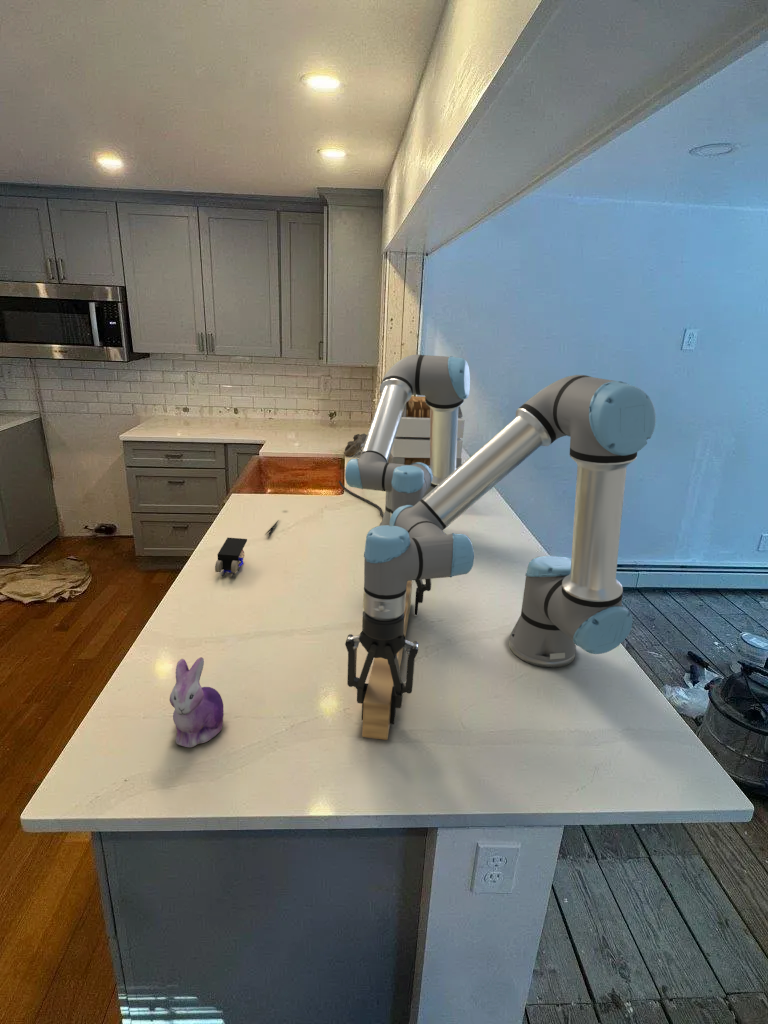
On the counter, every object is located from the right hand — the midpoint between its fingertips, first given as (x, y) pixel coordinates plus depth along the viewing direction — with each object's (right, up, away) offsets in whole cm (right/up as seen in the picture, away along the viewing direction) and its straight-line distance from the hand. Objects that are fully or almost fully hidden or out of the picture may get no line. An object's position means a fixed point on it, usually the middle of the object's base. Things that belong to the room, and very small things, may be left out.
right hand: (378, 717), depth 109 cm
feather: (-38, +35, +94) cm, 107 cm away
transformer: (+18, +58, +166) cm, 177 cm away
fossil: (-14, +72, +199) cm, 212 cm away
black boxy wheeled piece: (-44, +22, +59) cm, 76 cm away
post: (+3, +6, +19) cm, 20 cm away
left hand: (+5, +14, +38) cm, 41 cm away
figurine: (-33, -1, -5) cm, 33 cm away
